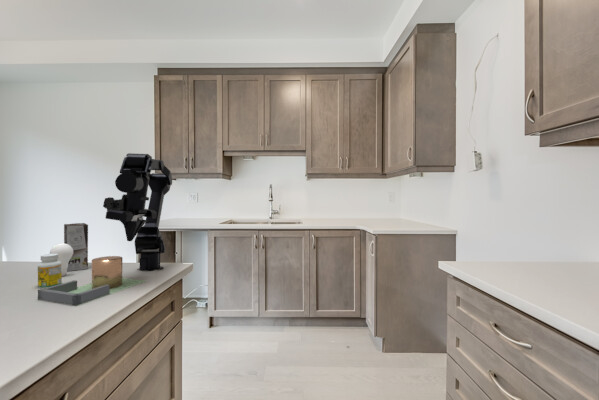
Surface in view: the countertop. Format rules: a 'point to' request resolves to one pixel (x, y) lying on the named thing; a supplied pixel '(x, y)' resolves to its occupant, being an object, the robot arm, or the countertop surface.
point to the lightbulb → (63, 255)
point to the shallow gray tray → (63, 296)
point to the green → (125, 284)
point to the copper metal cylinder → (107, 271)
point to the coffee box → (77, 245)
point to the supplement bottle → (49, 271)
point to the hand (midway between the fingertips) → (129, 241)
